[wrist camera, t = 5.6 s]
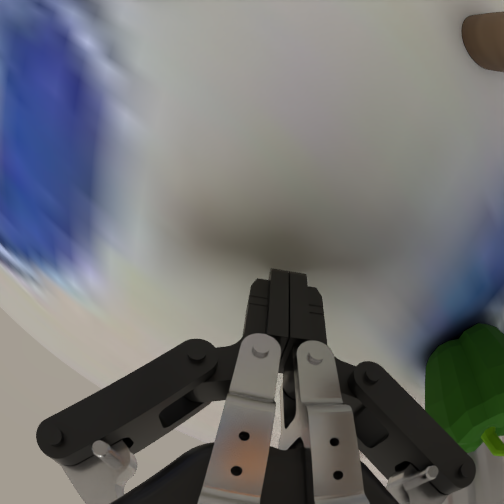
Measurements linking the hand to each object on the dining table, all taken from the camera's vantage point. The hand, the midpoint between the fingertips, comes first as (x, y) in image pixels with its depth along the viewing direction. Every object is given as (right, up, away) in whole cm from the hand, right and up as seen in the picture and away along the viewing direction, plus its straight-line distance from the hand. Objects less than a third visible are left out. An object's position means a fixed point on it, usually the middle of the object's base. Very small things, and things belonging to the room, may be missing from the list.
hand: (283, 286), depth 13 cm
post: (+8, +10, -6) cm, 15 cm away
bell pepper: (+14, -6, +4) cm, 16 cm away
